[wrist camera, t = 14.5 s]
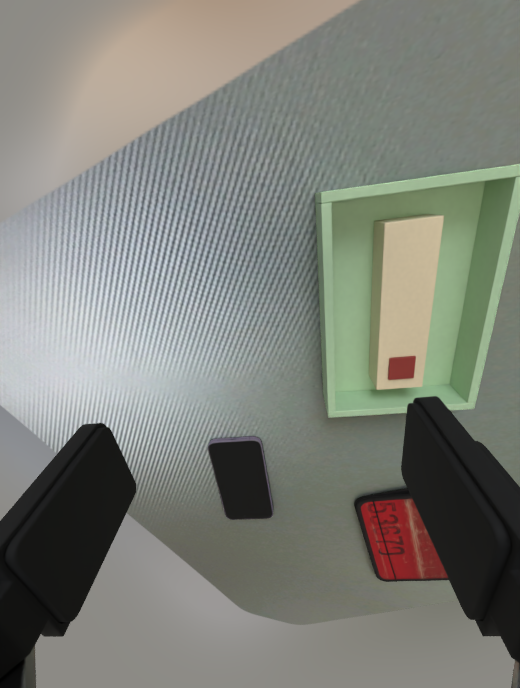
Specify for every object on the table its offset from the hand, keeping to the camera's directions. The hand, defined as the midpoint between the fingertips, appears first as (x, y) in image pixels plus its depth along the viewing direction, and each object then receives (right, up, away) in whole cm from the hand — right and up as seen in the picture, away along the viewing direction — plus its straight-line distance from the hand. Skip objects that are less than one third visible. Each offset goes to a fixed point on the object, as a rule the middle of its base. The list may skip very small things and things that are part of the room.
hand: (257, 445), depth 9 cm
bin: (+14, +7, +20) cm, 26 cm away
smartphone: (-2, -16, +33) cm, 36 cm away
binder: (+24, -25, +36) cm, 50 cm away
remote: (+13, +7, +20) cm, 25 cm away
